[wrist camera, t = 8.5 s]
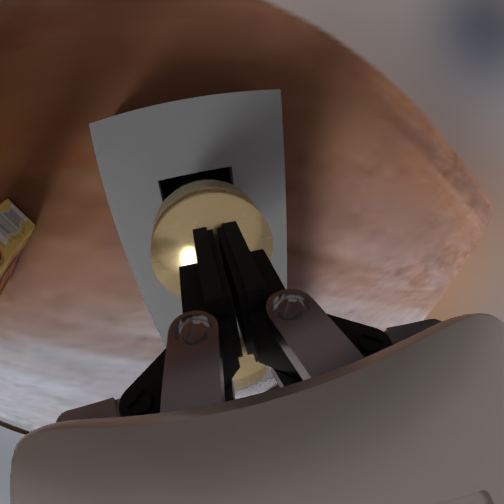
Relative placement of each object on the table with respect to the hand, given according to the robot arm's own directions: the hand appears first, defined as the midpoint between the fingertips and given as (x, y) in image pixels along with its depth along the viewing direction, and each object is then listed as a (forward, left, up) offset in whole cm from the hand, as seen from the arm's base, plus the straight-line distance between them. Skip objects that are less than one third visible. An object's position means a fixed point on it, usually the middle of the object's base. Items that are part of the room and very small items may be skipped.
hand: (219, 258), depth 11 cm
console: (-6, -4, -11) cm, 13 cm away
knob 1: (0, 0, -7) cm, 7 cm away
